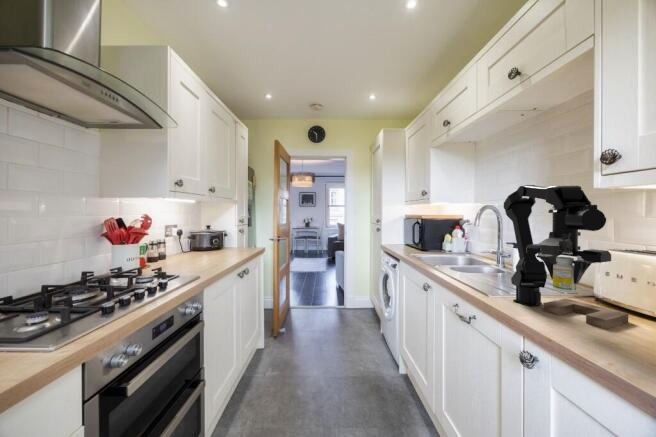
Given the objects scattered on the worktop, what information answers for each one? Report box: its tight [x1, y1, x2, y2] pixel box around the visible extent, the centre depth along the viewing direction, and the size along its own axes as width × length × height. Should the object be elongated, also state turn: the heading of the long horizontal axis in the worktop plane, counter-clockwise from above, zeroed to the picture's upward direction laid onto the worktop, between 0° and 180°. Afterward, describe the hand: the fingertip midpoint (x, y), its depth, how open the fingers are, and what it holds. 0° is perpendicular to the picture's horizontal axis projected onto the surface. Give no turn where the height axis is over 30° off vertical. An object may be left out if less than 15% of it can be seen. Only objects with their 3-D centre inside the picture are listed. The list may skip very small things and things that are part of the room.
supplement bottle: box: [552, 256, 577, 293], centre depth 82 cm, size 5×5×10 cm
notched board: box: [542, 298, 629, 330], centre depth 87 cm, size 16×12×2 cm
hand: (564, 281), depth 82 cm, fingers closed on supplement bottle, 5 cm apart
